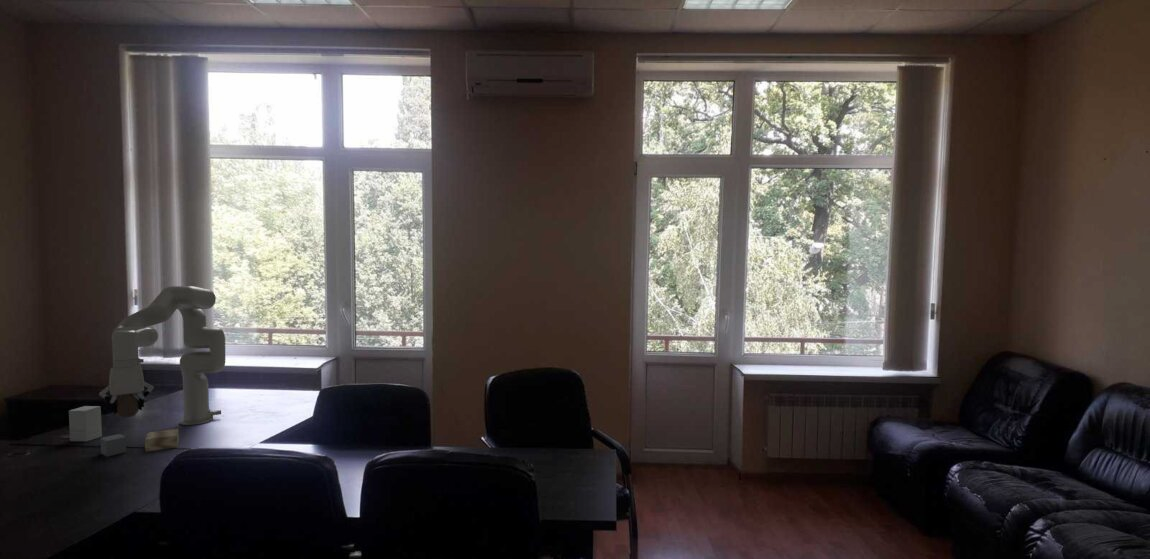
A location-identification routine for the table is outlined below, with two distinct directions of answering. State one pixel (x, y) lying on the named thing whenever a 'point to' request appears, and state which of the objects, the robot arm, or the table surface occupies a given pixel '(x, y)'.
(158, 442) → the birch block
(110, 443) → the slate block
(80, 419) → the supplement box
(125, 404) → the vase
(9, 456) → the table surface
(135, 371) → the robot arm
